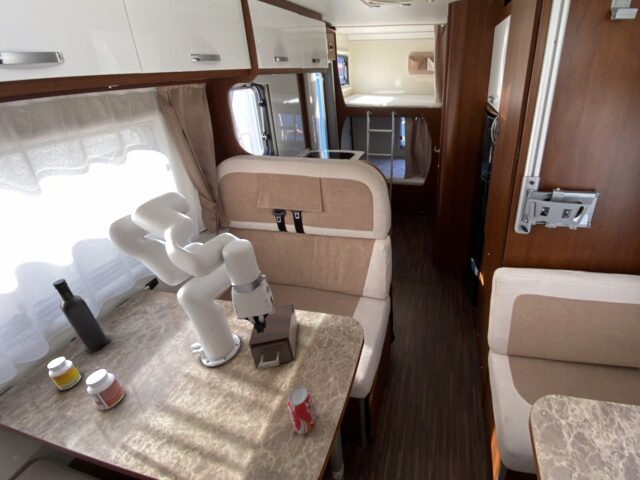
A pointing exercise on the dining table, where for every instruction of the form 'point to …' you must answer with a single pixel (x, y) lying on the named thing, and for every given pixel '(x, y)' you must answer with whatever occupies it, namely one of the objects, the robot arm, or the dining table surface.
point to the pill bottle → (104, 389)
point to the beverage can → (301, 409)
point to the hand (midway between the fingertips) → (261, 329)
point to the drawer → (271, 354)
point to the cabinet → (278, 328)
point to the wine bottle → (80, 317)
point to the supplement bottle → (63, 373)
